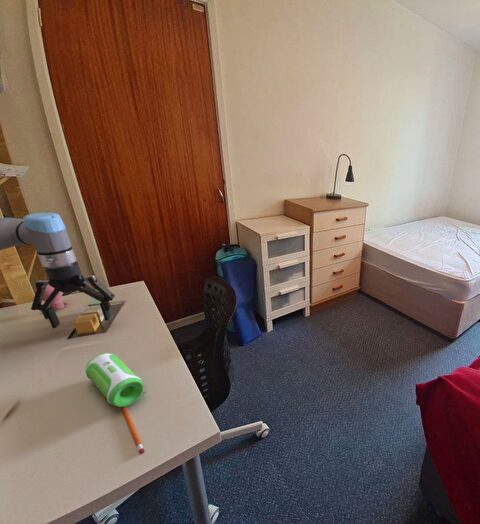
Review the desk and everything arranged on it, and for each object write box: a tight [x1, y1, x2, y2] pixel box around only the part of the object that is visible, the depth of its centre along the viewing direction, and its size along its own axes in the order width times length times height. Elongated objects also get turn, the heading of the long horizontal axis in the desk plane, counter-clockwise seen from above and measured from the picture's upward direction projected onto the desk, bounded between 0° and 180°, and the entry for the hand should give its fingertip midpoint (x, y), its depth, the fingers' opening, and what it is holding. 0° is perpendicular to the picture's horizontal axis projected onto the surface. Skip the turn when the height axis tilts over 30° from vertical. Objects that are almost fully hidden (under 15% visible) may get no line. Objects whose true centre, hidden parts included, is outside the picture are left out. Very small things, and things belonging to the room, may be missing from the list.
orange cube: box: [72, 314, 100, 334], centre depth 94 cm, size 4×4×4 cm
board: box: [66, 302, 125, 340], centre depth 100 cm, size 12×20×1 cm, turn 22°
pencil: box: [120, 406, 145, 455], centre depth 65 cm, size 1×19×1 cm, turn 49°
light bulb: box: [34, 285, 65, 311], centre depth 104 cm, size 7×7×12 cm
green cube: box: [87, 298, 101, 307], centre depth 104 cm, size 4×4×4 cm
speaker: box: [85, 352, 144, 408], centre depth 73 cm, size 18×7×8 cm, turn 57°
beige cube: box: [81, 305, 104, 322], centre depth 99 cm, size 4×4×4 cm
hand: (83, 322), depth 94 cm, fingers open, 13 cm apart
